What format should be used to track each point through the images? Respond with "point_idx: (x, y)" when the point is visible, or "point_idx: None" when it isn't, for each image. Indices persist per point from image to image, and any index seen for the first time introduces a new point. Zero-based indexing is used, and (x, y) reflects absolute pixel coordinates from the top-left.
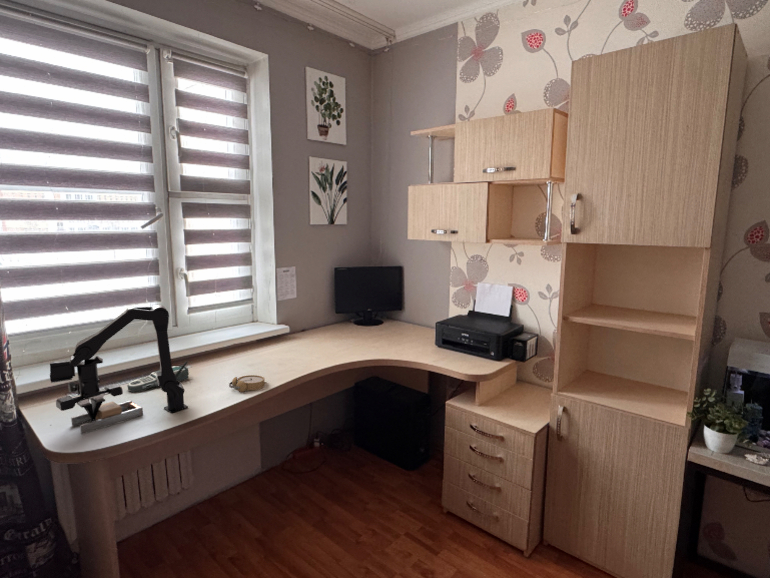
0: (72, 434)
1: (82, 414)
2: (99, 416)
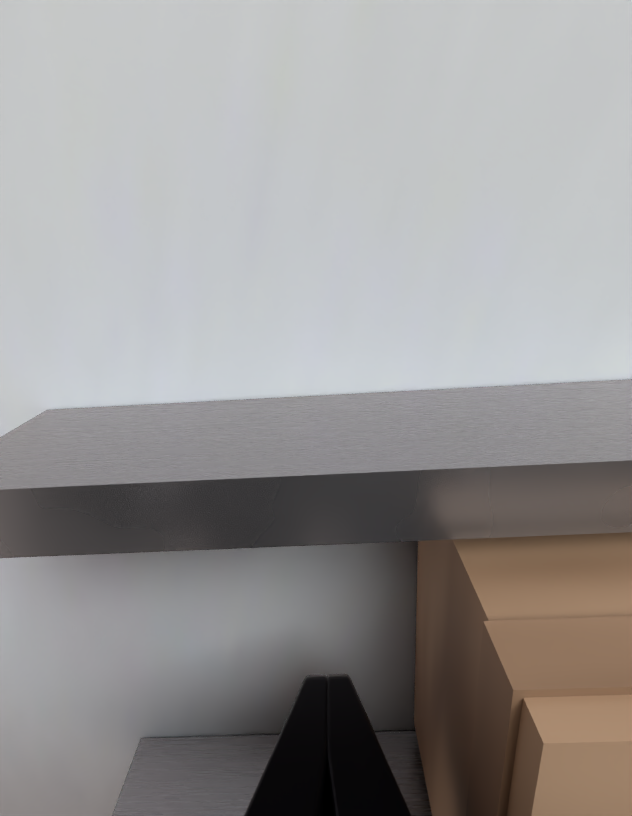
0: (49, 696)
1: (178, 500)
2: (444, 743)
